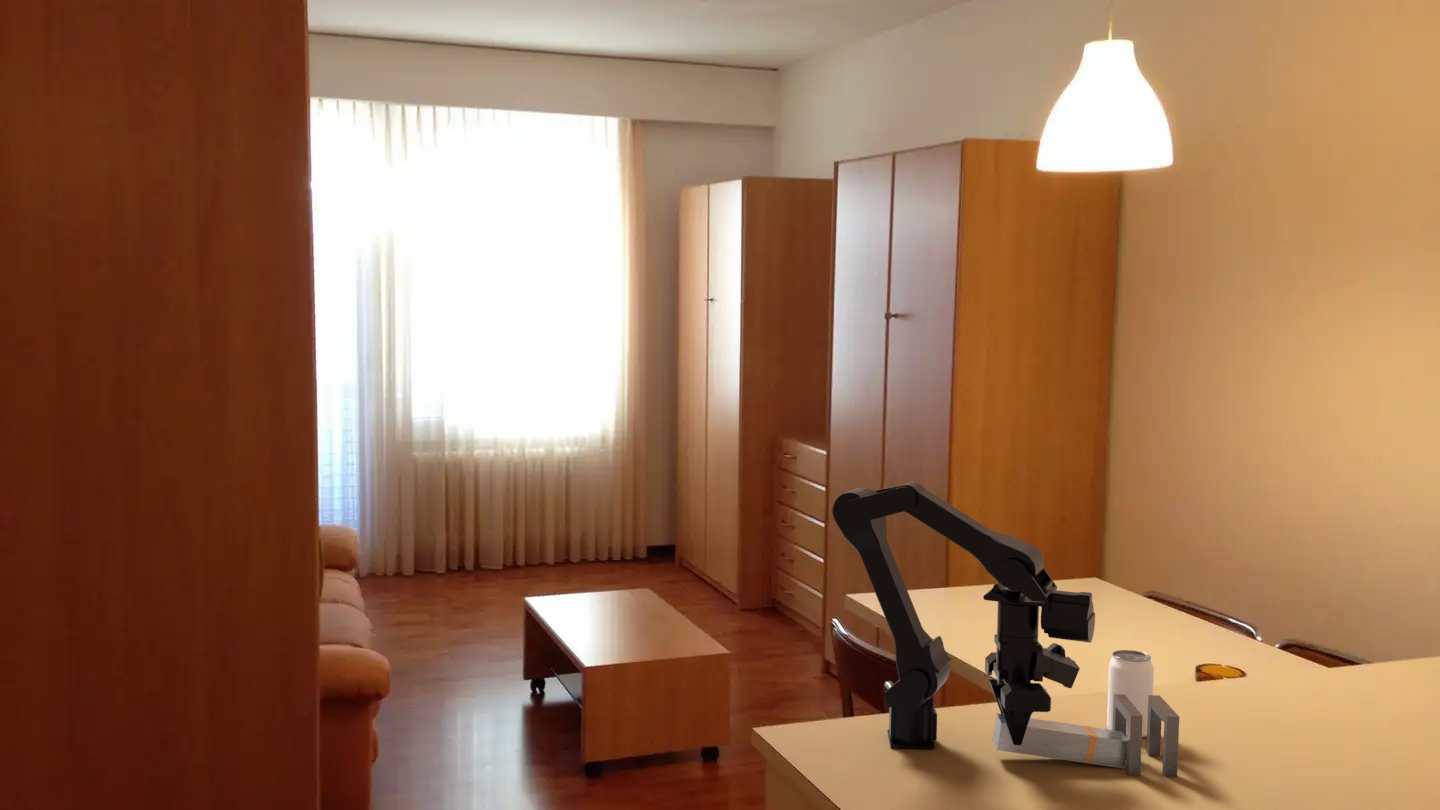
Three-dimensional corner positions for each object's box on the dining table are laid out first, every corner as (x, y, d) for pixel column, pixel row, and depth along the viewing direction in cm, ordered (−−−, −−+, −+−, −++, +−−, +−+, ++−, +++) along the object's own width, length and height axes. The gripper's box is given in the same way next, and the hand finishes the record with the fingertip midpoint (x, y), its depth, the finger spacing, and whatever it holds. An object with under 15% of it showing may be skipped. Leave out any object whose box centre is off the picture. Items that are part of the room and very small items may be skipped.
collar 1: (1128, 775, 165) (1130, 715, 164) (1111, 751, 174) (1113, 694, 173) (1140, 775, 165) (1142, 715, 164) (1122, 751, 174) (1124, 694, 173)
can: (1154, 740, 178) (1157, 662, 177) (1109, 737, 180) (1112, 660, 179) (1147, 725, 185) (1150, 650, 184) (1104, 722, 186) (1107, 647, 185)
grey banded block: (997, 750, 169) (1001, 722, 168) (992, 739, 173) (996, 712, 172) (1124, 768, 168) (1129, 741, 167) (1117, 757, 172) (1121, 731, 171)
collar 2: (1165, 776, 165) (1167, 716, 164) (1146, 752, 174) (1148, 695, 173) (1176, 776, 165) (1179, 716, 164) (1157, 752, 174) (1159, 695, 173)
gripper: (1090, 653, 159) (1087, 766, 161) (1060, 617, 178) (1057, 718, 179) (1006, 651, 160) (1003, 763, 161) (985, 615, 179) (983, 716, 180)
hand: (1014, 739), depth 170 cm, fingers closed on grey banded block, 4 cm apart
